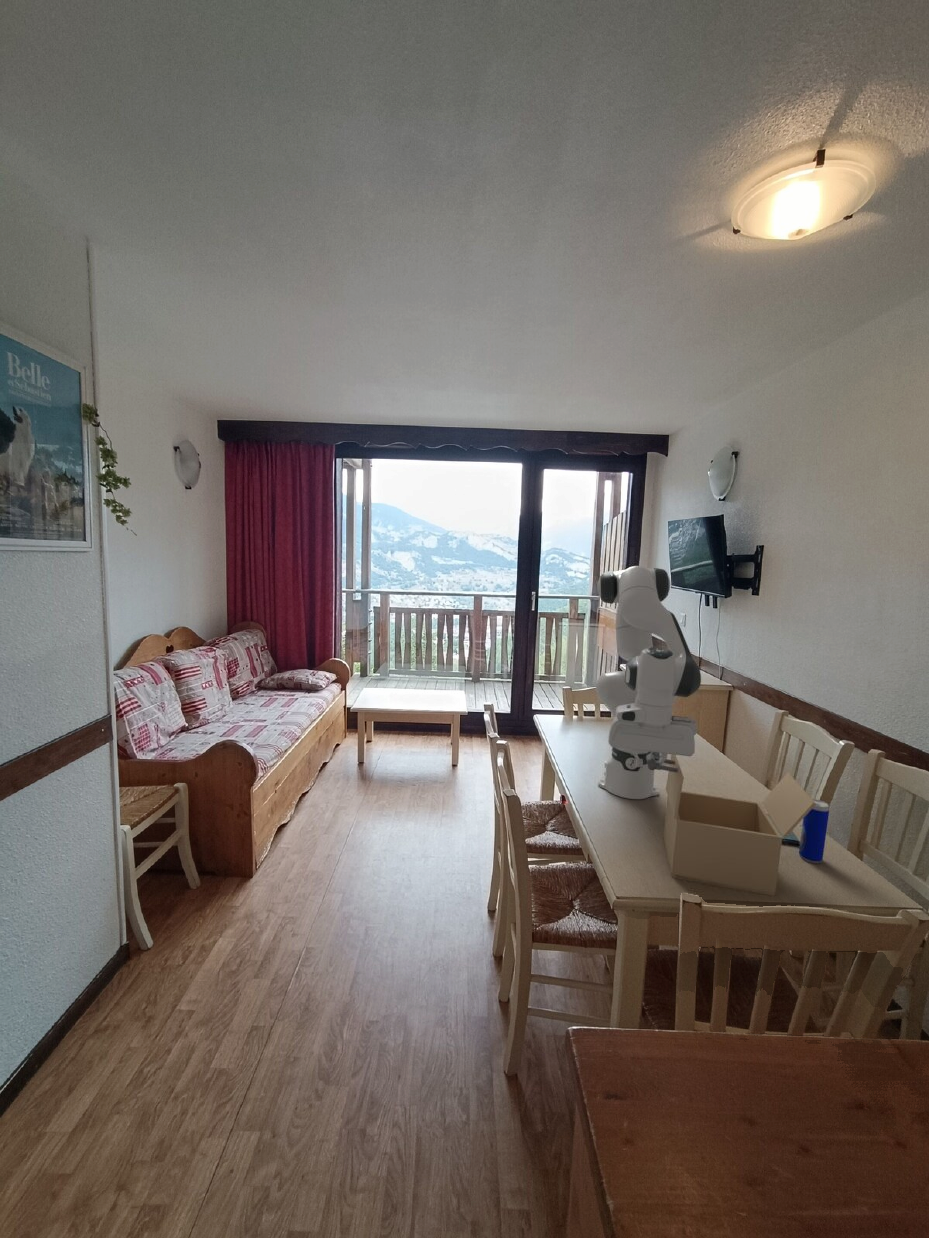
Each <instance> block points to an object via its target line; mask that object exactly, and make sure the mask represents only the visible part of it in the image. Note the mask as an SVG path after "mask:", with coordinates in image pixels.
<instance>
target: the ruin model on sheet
mask: <svg viewBox="0 0 929 1238" xmlns="http://www.w3.org/2000/svg"><path fill="white" fill-rule="evenodd" d="M651 754H652V755H654V757H658V758H660V757H659V756H660V753H658V752H651Z"/></svg>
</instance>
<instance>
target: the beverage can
mask: <svg viewBox="0 0 929 1238" xmlns="http://www.w3.org/2000/svg"><path fill="white" fill-rule="evenodd" d="M812 800H813V801H814V802H815V803H816V805H815V806H814V807H813V808H812V809H811V810H810V811H809V813H808V814H807V815H806V816H805V817H804V818H803V819H802V826H801V834H800V840H799V841H800V843H799V844H800V846H798V847H799V848H798V849H799V850H798V854H799V857H800V858H801V859H802V860H803V861H806V862H808V863H812V864H819V863H821V862H823V858H824V852H825V844H826V837H827V829H828V822H829V815H830V806H829V804H828V803H827V802H825V801H823V800H820V799H817V798H812Z"/></svg>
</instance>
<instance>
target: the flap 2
mask: <svg viewBox="0 0 929 1238" xmlns="http://www.w3.org/2000/svg"><path fill="white" fill-rule="evenodd" d="M812 799H813V798H812V797H811V796H810V795H809V794H808V793H807V792H806V790H805V789H804V788H803V786H801V785H800V783H799V782H798V781H797V780H796V779H795V778H794V777H793V776H792V774H791V773H790V772H787V773H786V774H785V775H784V776H783V777H782V778H781V779H780V780H779V782H778V783H777V784H776V785H775V786H774V787H773V789H772V790H771V791H770V792H769V793H768V794H767V796H766V797H765V798H764V799H763V800H762V801H761V802H760V804H761V805H762V807H763V809H764V810H765V812H766V813H767V814H769V815H770V817H771V818H772V820H773V822H774V823H775V825H776V826H777V828H778V829H779V831H780V832H781V834H782V835H783V837H785V838H786V837H787V836H788V835H789V833H790V832H791V831H793V830H794V829H795V828H796V827H797V826H798V825H799V823H801V821H803V818H804V817H805V816H806V815H807V814H808V813H809V811H810V810H811V809H812V808H813V807H814V806H815V805H816V803H815V802H814V801H813V800H812Z"/></svg>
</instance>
